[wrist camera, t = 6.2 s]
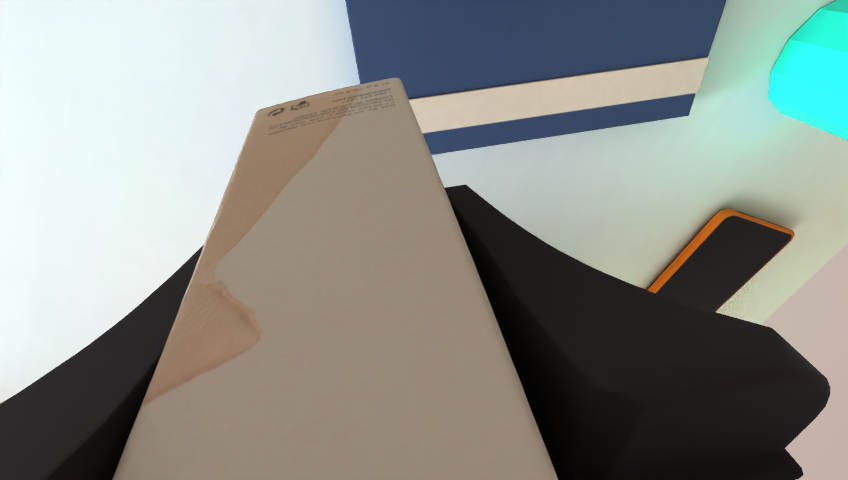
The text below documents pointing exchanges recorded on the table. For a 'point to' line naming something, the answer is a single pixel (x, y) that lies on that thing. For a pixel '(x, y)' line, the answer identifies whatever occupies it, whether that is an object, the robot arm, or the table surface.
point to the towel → (534, 63)
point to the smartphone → (721, 259)
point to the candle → (815, 72)
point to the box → (335, 319)
